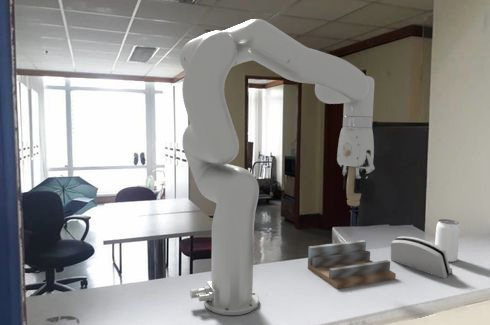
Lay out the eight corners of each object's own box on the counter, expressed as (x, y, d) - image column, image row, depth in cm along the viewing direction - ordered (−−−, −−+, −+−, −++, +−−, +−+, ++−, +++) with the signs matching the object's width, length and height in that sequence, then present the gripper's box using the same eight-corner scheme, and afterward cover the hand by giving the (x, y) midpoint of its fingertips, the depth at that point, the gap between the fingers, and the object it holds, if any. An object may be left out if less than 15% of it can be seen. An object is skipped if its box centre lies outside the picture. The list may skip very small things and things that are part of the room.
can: (461, 262, 117) (464, 224, 116) (439, 262, 118) (443, 224, 116) (450, 255, 124) (453, 219, 123) (430, 254, 124) (433, 218, 123)
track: (336, 288, 97) (337, 264, 97) (307, 268, 110) (308, 246, 109) (395, 278, 104) (397, 255, 104) (361, 260, 117) (363, 240, 117)
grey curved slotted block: (453, 274, 109) (451, 244, 105) (445, 283, 106) (442, 252, 103) (399, 256, 122) (395, 229, 119) (390, 264, 119) (386, 236, 116)
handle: (368, 206, 103) (371, 151, 102) (346, 207, 102) (349, 151, 100) (359, 203, 108) (362, 149, 106) (338, 203, 107) (340, 149, 105)
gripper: (327, 122, 109) (324, 186, 111) (366, 124, 93) (362, 198, 96) (349, 123, 112) (346, 185, 114) (391, 124, 96) (386, 196, 98)
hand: (353, 190), depth 105 cm, fingers closed on handle, 3 cm apart
